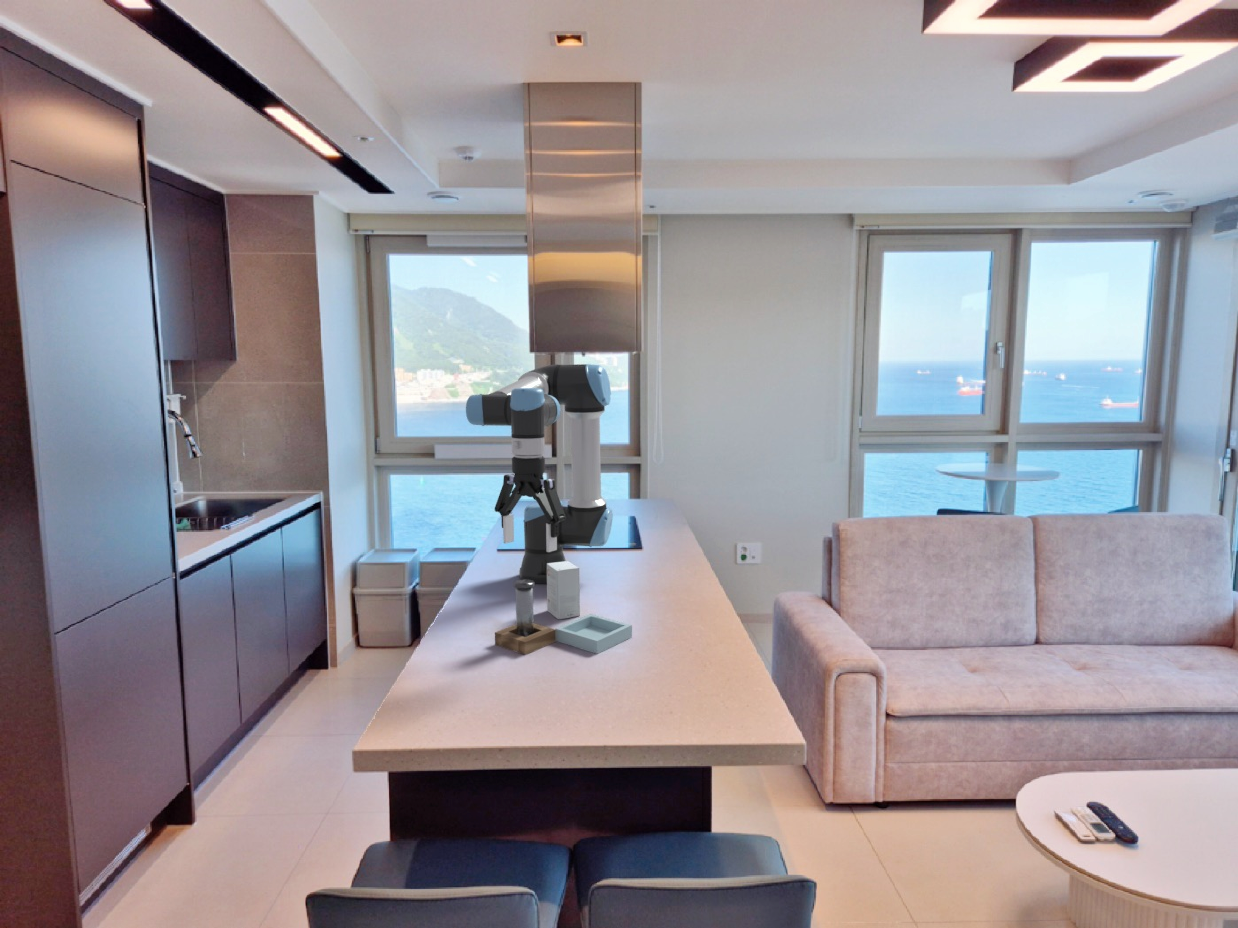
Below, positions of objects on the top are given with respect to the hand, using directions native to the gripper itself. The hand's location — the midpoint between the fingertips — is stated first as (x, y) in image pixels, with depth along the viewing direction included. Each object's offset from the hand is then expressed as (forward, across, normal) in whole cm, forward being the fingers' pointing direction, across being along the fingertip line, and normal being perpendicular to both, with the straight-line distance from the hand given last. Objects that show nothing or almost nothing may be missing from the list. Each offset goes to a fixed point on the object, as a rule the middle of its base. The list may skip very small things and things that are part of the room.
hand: (529, 546), depth 175 cm
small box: (+23, -7, +20) cm, 31 cm away
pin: (+23, -1, -1) cm, 23 cm away
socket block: (+23, -1, -1) cm, 23 cm away
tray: (+23, +11, +10) cm, 27 cm away
